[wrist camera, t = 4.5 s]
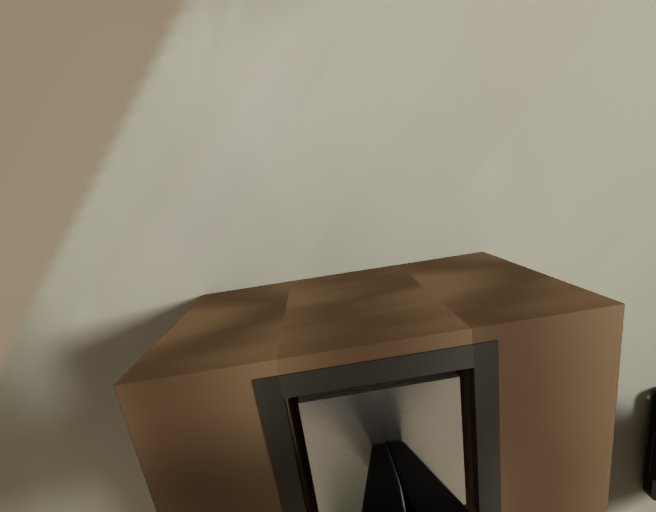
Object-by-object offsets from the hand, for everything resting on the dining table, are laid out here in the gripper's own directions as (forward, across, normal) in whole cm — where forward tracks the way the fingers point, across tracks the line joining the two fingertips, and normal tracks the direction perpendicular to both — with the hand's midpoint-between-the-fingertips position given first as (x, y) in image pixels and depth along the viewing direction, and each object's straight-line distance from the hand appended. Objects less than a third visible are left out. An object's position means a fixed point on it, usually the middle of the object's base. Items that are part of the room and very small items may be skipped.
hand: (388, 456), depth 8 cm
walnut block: (+6, 0, +3) cm, 7 cm away
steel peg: (+6, 0, 0) cm, 6 cm away
